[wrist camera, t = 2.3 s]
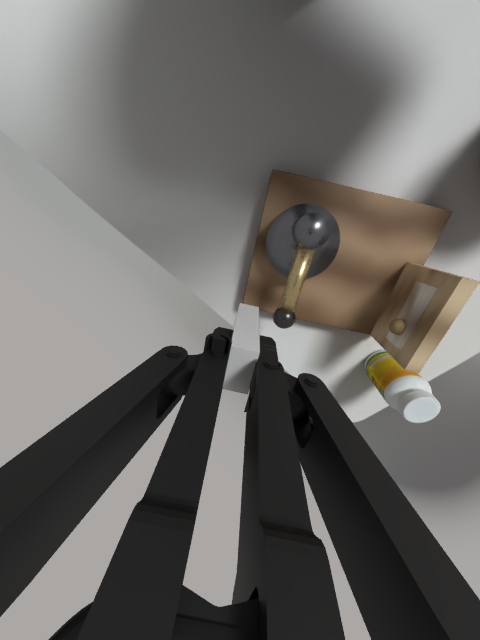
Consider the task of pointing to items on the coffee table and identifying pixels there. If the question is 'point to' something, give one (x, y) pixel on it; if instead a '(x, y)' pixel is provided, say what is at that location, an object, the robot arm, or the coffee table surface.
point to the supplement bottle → (402, 388)
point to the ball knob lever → (300, 252)
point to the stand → (367, 269)
